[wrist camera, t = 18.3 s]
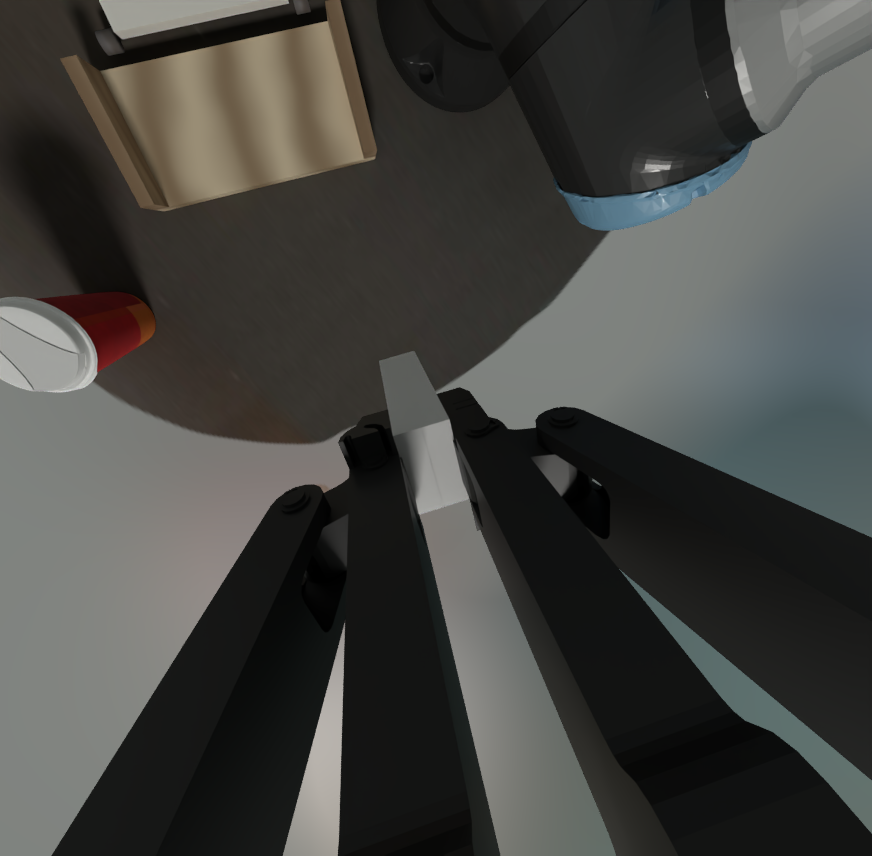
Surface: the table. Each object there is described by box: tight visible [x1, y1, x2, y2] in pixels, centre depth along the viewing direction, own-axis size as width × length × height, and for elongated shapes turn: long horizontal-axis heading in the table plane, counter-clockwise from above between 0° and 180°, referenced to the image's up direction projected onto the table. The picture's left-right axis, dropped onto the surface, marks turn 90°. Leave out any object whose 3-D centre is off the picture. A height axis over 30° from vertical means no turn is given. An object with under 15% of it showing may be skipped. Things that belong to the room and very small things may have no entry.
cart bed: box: [60, 0, 377, 211], centre depth 32 cm, size 22×12×4 cm, turn 103°
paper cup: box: [0, 292, 156, 392], centre depth 34 cm, size 8×8×14 cm
